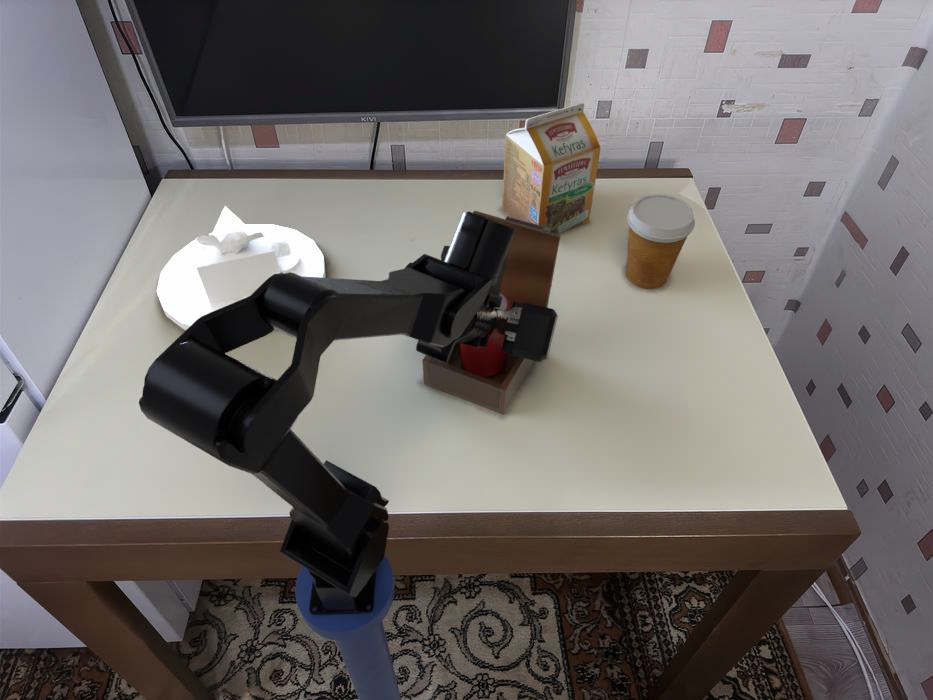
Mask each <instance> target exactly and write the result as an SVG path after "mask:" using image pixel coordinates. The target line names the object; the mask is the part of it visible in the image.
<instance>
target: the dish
mask: <svg viewBox="0 0 933 700" xmlns="http://www.w3.org/2000/svg"><path fill="white" fill-rule="evenodd" d="M194 239H195V240H192V241H191V242H190V243H188V244H187V245H186V246H184V247H183V248H182V249H180V250H179V251H178V252H176V253H175V254H174V255H172V257H171V258H170V259H169V261H168V262H167V264H165V266H164V267H163V269H162V270H161V272H160V274H159V279H158V283H157V288H156V294H157V297H158V299H159V302H160V305H161V307H162V309H163V312H164V314H165V316H166V317H167V318H168V319H169V320H171V321H172V322H173V323H175V324H176V325H177V326H179V327H180V328H181V329H182V330H184V331H186V330H187V329H188V328H189V327H190V326H191V325H192V324H193V323H194V322H195V321H196V320H197V319H199V318H200V317H202V316H204V315H206V314H208V313H211V312H213V311H216V310H218V309H220V308H223V307H225V306H228V305H230V304H232V303H235V302H237V301H239V300H242V299H244V298H247V297H249V296H251V295H252V294H253V293H254V292H255V291H256V290H257V289H258V288H259V287H260V286H261V285H262V284H263V283H264V282H265V281H266V280H267V279H268V278H269V277H271V276H272V275H274V274H276V273H281V272H282V273H289V272H291V273H295V274H297V275H299V276H302V277H319V278H327V277H326V261H325V255H324V254H323V251H321V249H320V248H319V246H318V245H317V244H316V241H314V239H312V238H310V237H309V236H307V235H305V234H303V233H302V232H300V231H298V230H297V229H293V228H289V227H285V226H281V225H277V224H272V223H269V224H268V223H267V224H264V223H263V224H262V223H261V224H260V223H257V224H255V223H254V224H253V223H250V224H249V223H248V224H245V222H243V221H242V220H241V218H239V217H238V216H237V215H236V214H235V213H233V212H232V211H231V210H230V209H229V208H228V207H227V206H226V205H224V207H223V209H222V211H221V213H220V215H219V217H218V219H217V222H216V224H215V226H214V228H213V231H212V232H211V233H204V234H200V235H196V236H195V237H194Z"/></svg>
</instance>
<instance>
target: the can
mask: <svg viewBox="0 0 933 700" xmlns="http://www.w3.org/2000/svg"><path fill="white" fill-rule="evenodd" d="M499 296H501V297H502V301H501V305H500V308H497V307H496V308H497V309H501V310H506V311H510V302H509V299H508V298H507V297H506V296H505V295H504V294H503V293H502V292H500V295H499ZM497 320H501V321H505V322H507V321H508V317H507V319H505V318H504V317H503V319H502V318H501V316H500V318H498V315H497ZM504 338H505V330H501V329H496V328H495V329H494V331H493V333H492V334H491V335H490V337H489V339H488V343H487V347H482V346H479V347H474V346H470V345H466V344H462V343H460V360H461V364H462V366H463V368H464V369H465V370H466V371H467V372H470V373H473V374H476V375H478V376H481V377H487V376H492V375H495V374H497V373H499V372H500V371H502V370H503V368H504V367H505V365H506V362H507V352H503V351H502V347H503V343H504Z"/></svg>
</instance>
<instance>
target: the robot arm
mask: <svg viewBox="0 0 933 700" xmlns="http://www.w3.org/2000/svg"><path fill="white" fill-rule="evenodd" d="M515 233H516V230H514V229H513V228H511V227H508V226H505V225H502V224H499V223H496V222H494V221H491V220H489V219H487V218H486V217H483V216H481V215H478V214H475V213H473V211H472V212H471V211H463V212H462V214H461V216H460V219H459V221H458V224H457V226H456V229H455V231H454V234H453V237H452V239H451V242H450V244H449V245H444V246H443V248H442V251H441V254H440V258H437V257H434V256H431V255H429V254H426V253H424V254H422V255H421V256H419V257H418V258H417V259H415V260H414V261H413V262H409V263H408V264H407V265H405V267H404V268H401V269H397V270H392V271H390V272H388V273H387V274H386V277H385V279H384V280H370V279H369V280H368V279H352V278H351V279H350V278H333V277H326V278H319V277H302V276H299V275H297V274H295V273H291V272H289V273H282V272H281V273H276V274H274V275H272V276H271V277H269V278H268V279H267V280H266V281H265V282H264V283H263V284H262V285H261V286H260V287H259V288H258V289H257V290H256V291H255V292H254V293H253V294H252V295H251V296H249V297H247V298H244V299H242V300H239V301H237V302H235V303H232V304H230V305H228V306H225V307H223V308H220V309H218V310H216V311H213V312H211V313H208V314H206V315H204V316H202V317H200V318H199V319H197V320H196V321H195V322H194V323H193V324H192V325H191V326H190V327H189V328H188V329H187V330H184V332H183V333H181V335H180V336H178V337H177V338H176V339H175V340H174V341H173V342H172V343H171V344H170V345H169V346H168V347H166V349H165V350H163V352H161V353H160V355H158V356H157V358H155V360H154V361H153V362H151V364H150V366H149V367H148V369H147V371H146V374H145V376H144V381H143V387H142V394H141V395H142V396H141V397H140V398H139V400H138V406H139V409H140V411H141V413H143V415H144V416H145V417H146V418H147V419H148V420H150V421H151V422H152V423H155V424H156V425H158V426H160V427H161V428H164V429H165V430H166V431H169V432H170V433H171V434H173V435H175V436H177V437H179V438H181V439H182V440H183V441H186V442H188V443H189V444H190V445H192V446H193V447H195V448H197V449H199V450H201V451H202V452H204V453H206V454H208V455H209V456H210V457H212V458H214V459H215V460H218V461H220V462H221V463H223V464H225V465H226V466H228V467H231V468H234V469H237V470H239V471H242V472H245V473H248V474H250V475H253V476H254V477H255V478H256V479H258V481H260V482H261V483H262V484H263V485H265V486H266V487H267V488H269V489H270V490H271V491H273V493H275V494H276V495H277V496H279V497H280V498H281V500H283V501H284V502H286V503H287V504H288V505H290V506H291V507H292V508H291V509H290V511H289V517H290V519H291V520H290V523H289V526H288V529H287V531H286V534H285V537H284V539H283V542H282V544H281V547H280V550H279V553H280V554H282V555H283V556H285V557H287V558H288V559H290V560H292V561H293V562H294V563H296V564H298V565H300V566H301V567H302V566H303V567H305V568H306V569H308V570H309V573H310V576H311V578H312V581H313V582H312V590H311V598H310V605H309V611H310V613H311V614H312V615H335V614H368V613H371V612H372V611H373V609H374V597H375V581H376V569H377V567H378V566H379V565H380V563H381V562H382V560H383V559H384V555H385V554H386V548H387V542H388V536H389V529H390V524H389V522H388V520H389V511H388V508H387V507H386V506H387V505H388V504H389V503H390V500H389V499H387V498H385V497H383V496H382V494H381V492H380V490H379V489H378V488H377V487H376V486H375V485H373V484H372V483H369V482H367V481H366V480H364V479H362V478H360V477H358V476H357V475H355V474H353V473H351V472H349V471H347V470H346V469H344V468H341V467H340V466H338V465H336V464H335V463H333V462H331V461H329V460H327V459H326V460H325V461H324V462H322V460H321V459H320V458H319V457H318V456H317V455H316V454H315V453H314V452H313V451H312V450H311V449H310V448H309V447H308V446H307V445H306V443H304V441H303V440H302V439H301V438H300V437H299V436H298V435H297V434H296V433H295V432H294V431H293V429H292V427H293V426H294V424H295V423H296V421H297V419H298V417H299V416H300V415H301V413H302V412H303V411H304V410H305V409H306V407H307V406H308V405H309V404H310V403H311V401H312V400H313V398H314V395H315V391H316V390H315V389H316V384H317V378H318V374H319V373H318V372H319V366H320V361H321V356H322V355H323V354H324V352H326V350H327V349H328V348H329V347H330V346H331V345H332V344H333V342H335V341H344V340H356V339H367V338H379V337H390V336H391V337H392V336H406V337H409V338H412V339H415V340H417V342H416V346H415V350H416V352H417V353H420V354H423V355H424V356H425V355H427V356H429V357H432V358H434V359H437V360H439V361H441V362H444V363H448V361H449V359H450V356H451V354H452V351H453V349H454V346H455V344H456V343H462V344H466V345H470V346H474V347H479V346H482V347H487V343H488V339H489V337H490V335H491V334H492V333H493V331H494V329H495V328H496V329H501V330H505V338H504V343H503V347H502V351H503V352H507V353H511V354H512V355H513V356H517V357H521V358H525V359H530V360H534V362H538V363H543V362H545V361H546V360H547V359H549V355H550V351H551V348H552V343H553V339H554V335H555V330H556V326H557V322H558V317H559V315H558V313H557V311H556V310H555V309H554V308H550V307H547V308H546V307H542V306H537V305H533V304H528V303H524V304H522V303H517V302H513V304H512V308H511V310H510V311H506V310H501V309H497V308H500V305H501V301H502V297H501V296H499V295H500V291H501V286H500V285H501V282H502V279H503V275H504V272H505V270H506V259H505V258H506V255H507V253H508V250H509V248H510V245H511V243H512V240H513V238H514V235H515ZM496 307H497V308H496ZM497 315H498V318H500V316H501V318H502V319H503V317H504V318H505V319H507V317H508V321H507V322H505V321H501V320H497ZM274 330H277V331H279V332H280V333H283V334H285V335H287V336H289V337H291V338H294V339H295V340H296V341H295V345H294V350H293V355H292V360H291V363H290V365H289V366H288V367H287V369H285V371H284V372H283V373H282V374H281V375H280V376H279V377H278V379H275V377H272V376H269V375H268V374H266V373H264V372H262V371H260V370H258V369H256V368H254V367H252V366H250V365H248V364H246V363H244V362H243V361H241V360H238V359H237V358H234V357H232V356H230V355H228V354H227V353H229V352H232V351H234V350H236V349H239V348H241V347H243V346H245V345H248V344H250V343H252V342H255V341H256V340H259V339H261V338H264V337H266V336H267V335H270V333H272V332H274ZM385 556H386V555H385ZM368 606H370V607H371V608H370V609H366V608H367V607H368ZM313 608H317V609H316V610H315V611H312V609H313Z"/></svg>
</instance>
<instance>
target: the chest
mask: <svg viewBox="0 0 933 700" xmlns="http://www.w3.org/2000/svg"><path fill="white" fill-rule="evenodd" d="M534 363H535V361H534V360H530V359H525V358H521V357H517V356H513V355H512V354H511V353H507V362H506V365H505V367H504V368H503V370H502V371H500V372H499V373H497V374H495V375H492V376H487V377H481V376H478V375H476V374H473V373H470V372H467V371H466V370H465V369H464V368H463V366H462V364H461V360H460V343H456V344H455V346H454V349H453V351H452V354H451V356H450V359H449V361H448V363H444V362H441V361H439V360H437V359H434V358H432V357H429V356H427V355H425V354H424V357H423V358H422V373H423V375H422V376H423V385H425V386H427V387H432V388H434V389H437V390H439V391H441V392H444V393H446V394H448V395H452V396H454V397H456V398H459V399H462V400H465V401H467V402H470V403H472V404H475V405H477V406H480V407H482V408H485V409H488V410H491V411H493V412H496V413H498V414H500V415H505V414H506V412H507V410H508V409H509V407H510V405H511V403H512V402H513V399H514V398H515V396H516V394H517V392H518V391H519V389H520V387H521V385H522V384H523V382H524V381H525V379H526V377H527V375H528V373H529V372H530V370H531V368H532V367H533V365H534Z"/></svg>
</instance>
